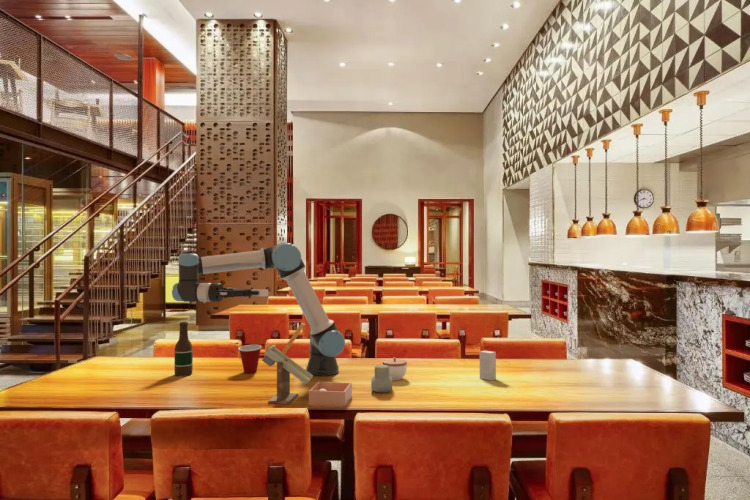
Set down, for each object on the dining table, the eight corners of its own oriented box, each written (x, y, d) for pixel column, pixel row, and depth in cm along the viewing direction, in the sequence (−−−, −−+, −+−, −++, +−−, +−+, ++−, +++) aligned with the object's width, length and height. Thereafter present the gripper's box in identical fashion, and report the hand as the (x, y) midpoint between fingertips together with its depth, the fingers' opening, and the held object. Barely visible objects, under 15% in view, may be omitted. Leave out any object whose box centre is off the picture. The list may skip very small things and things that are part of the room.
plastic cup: (233, 373, 235) (233, 347, 235) (247, 368, 245) (247, 343, 245) (252, 375, 231) (252, 349, 231) (266, 370, 241) (266, 345, 241)
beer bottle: (196, 373, 236) (196, 321, 236) (184, 377, 228) (184, 323, 229) (182, 372, 238) (182, 320, 239) (170, 375, 231) (170, 323, 231)
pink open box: (308, 406, 184) (308, 390, 184) (317, 395, 198) (317, 381, 198) (345, 407, 182) (345, 392, 182) (351, 397, 196) (351, 382, 196)
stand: (268, 403, 188) (268, 362, 188) (277, 395, 198) (277, 356, 199) (289, 404, 186) (289, 363, 187) (297, 396, 197) (297, 357, 198)
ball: (313, 397, 190) (316, 387, 190) (321, 396, 193) (324, 386, 193) (320, 401, 188) (323, 391, 188) (328, 400, 191) (331, 390, 191)
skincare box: (496, 379, 224) (496, 351, 224) (491, 380, 221) (491, 353, 221) (484, 376, 228) (484, 350, 228) (479, 378, 225) (479, 351, 225)
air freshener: (372, 387, 210) (372, 363, 210) (392, 387, 210) (392, 363, 210) (371, 394, 199) (371, 369, 199) (392, 394, 199) (392, 369, 199)
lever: (259, 360, 190) (286, 320, 189) (268, 355, 200) (294, 316, 199) (300, 391, 188) (328, 351, 186) (308, 384, 198) (334, 346, 197)
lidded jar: (405, 382, 218) (404, 360, 218) (380, 381, 221) (380, 359, 221) (408, 376, 229) (408, 355, 229) (385, 375, 231) (385, 354, 231)
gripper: (218, 300, 211) (273, 300, 208) (203, 303, 198) (261, 303, 195) (218, 282, 211) (273, 282, 208) (203, 284, 198) (261, 284, 195)
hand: (267, 292), depth 201 cm, fingers closed
